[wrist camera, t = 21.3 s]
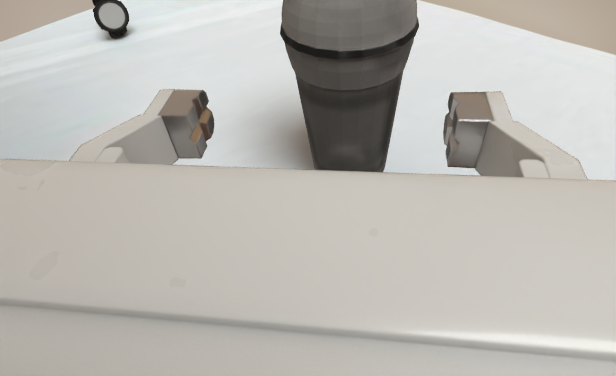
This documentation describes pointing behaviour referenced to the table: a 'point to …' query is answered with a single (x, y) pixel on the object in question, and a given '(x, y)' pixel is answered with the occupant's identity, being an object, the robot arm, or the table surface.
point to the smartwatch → (111, 16)
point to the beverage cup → (349, 75)
